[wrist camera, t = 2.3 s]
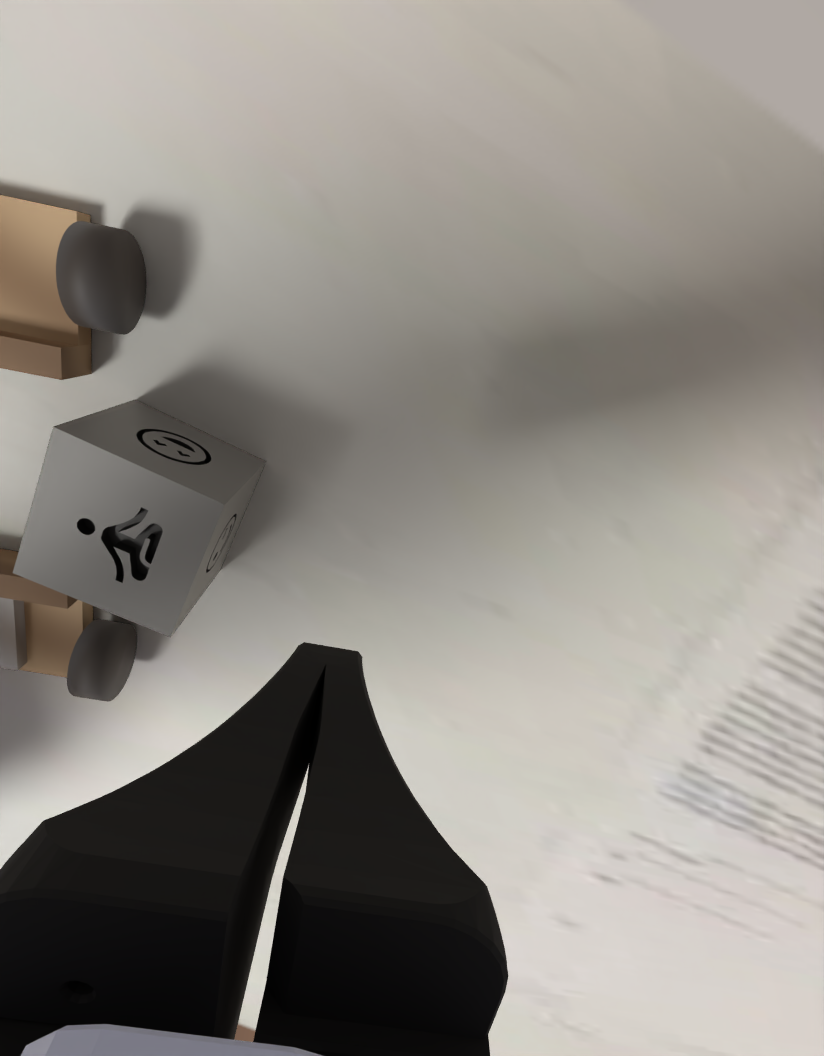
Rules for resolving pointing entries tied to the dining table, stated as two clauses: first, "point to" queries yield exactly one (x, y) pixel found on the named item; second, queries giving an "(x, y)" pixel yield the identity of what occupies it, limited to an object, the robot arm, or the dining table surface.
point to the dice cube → (135, 513)
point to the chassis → (61, 353)
